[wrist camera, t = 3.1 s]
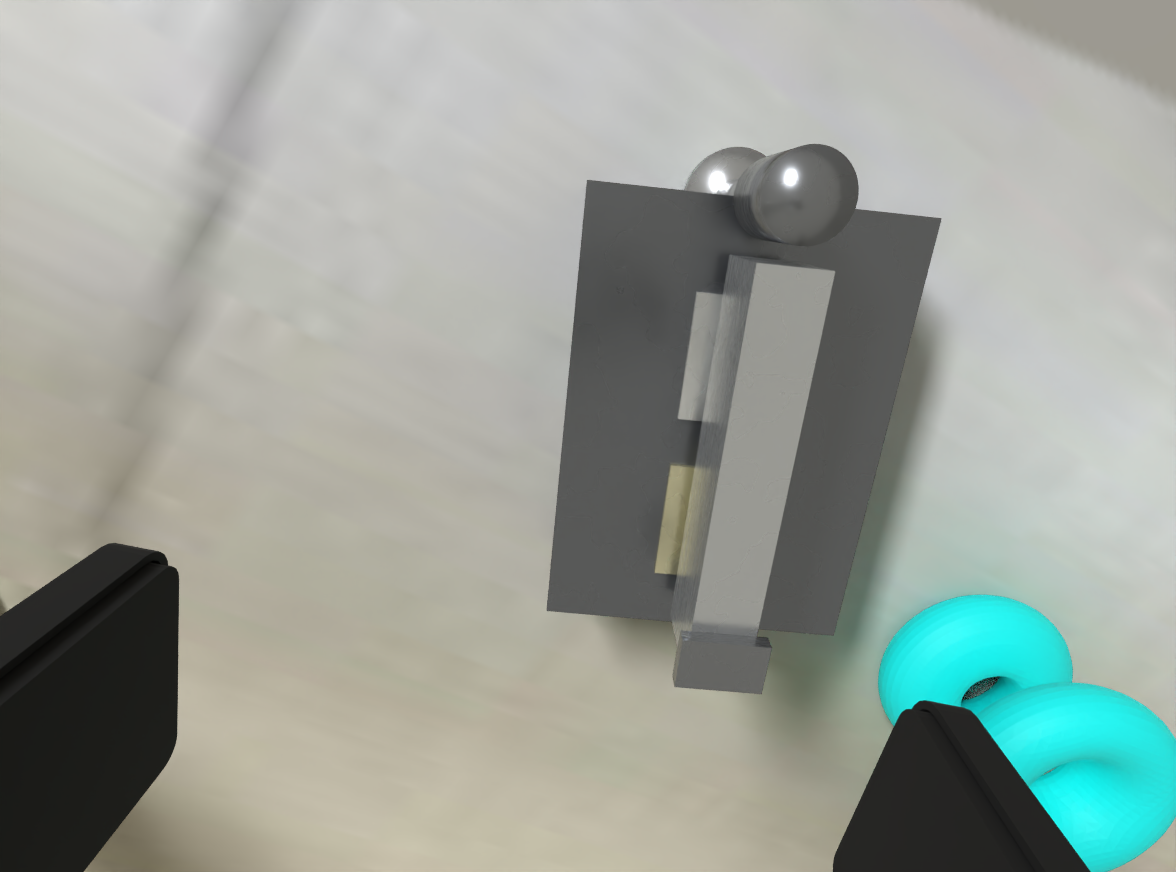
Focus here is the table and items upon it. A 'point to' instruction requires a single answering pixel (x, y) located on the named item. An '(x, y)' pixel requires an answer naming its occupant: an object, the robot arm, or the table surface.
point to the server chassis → (679, 386)
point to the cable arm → (755, 416)
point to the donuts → (1043, 721)
